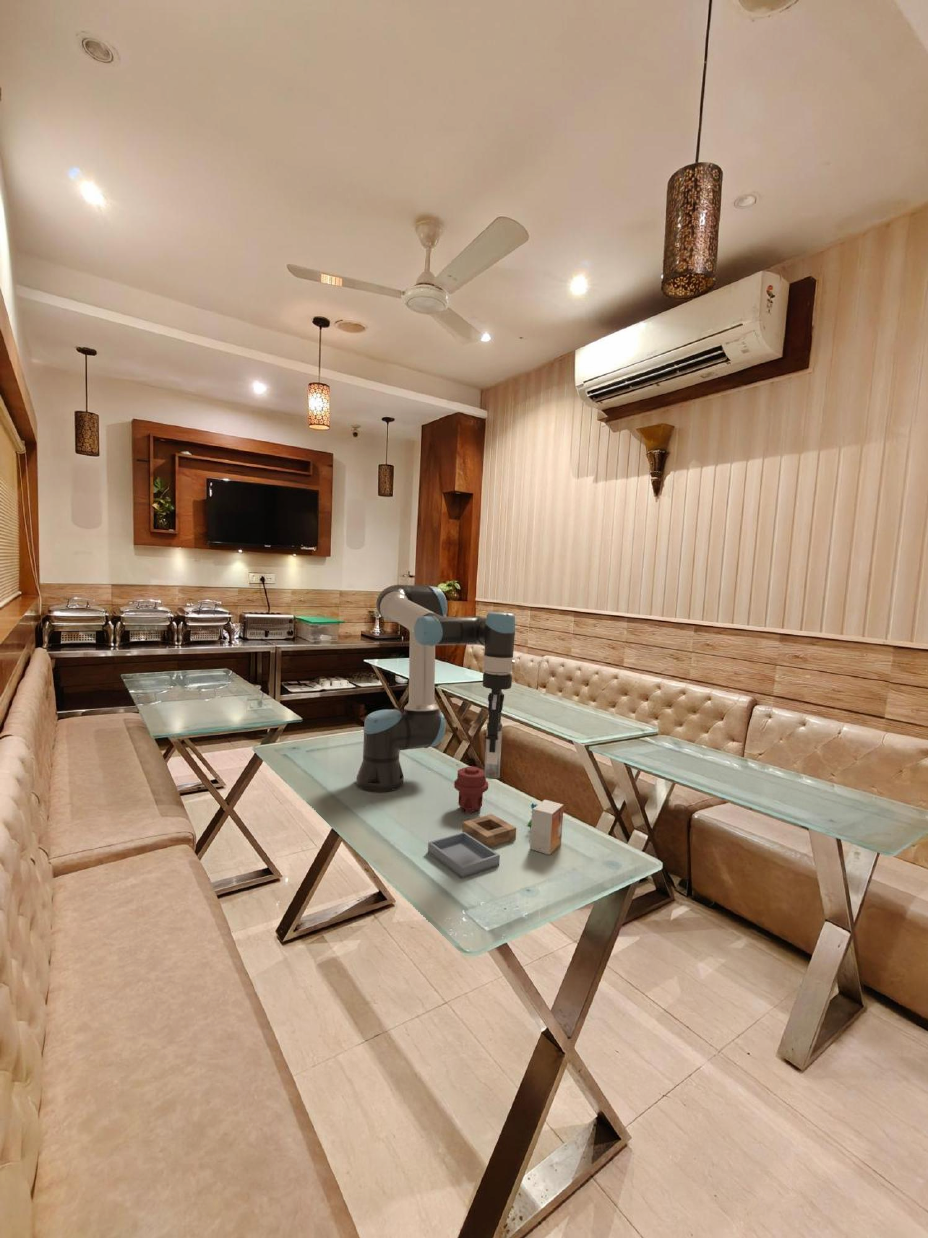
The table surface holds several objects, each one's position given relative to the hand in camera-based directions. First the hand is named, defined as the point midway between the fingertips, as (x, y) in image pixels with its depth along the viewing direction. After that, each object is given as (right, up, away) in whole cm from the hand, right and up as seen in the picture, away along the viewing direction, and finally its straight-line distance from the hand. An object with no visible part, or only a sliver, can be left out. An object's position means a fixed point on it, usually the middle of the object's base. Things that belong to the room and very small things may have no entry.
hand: (492, 760), depth 143 cm
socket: (-1, -20, +1) cm, 20 cm away
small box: (+13, -21, -3) cm, 25 cm away
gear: (+14, -21, +7) cm, 26 cm away
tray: (-8, -21, -11) cm, 25 cm away
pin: (0, -4, 0) cm, 4 cm away
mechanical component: (-6, -19, +17) cm, 26 cm away
